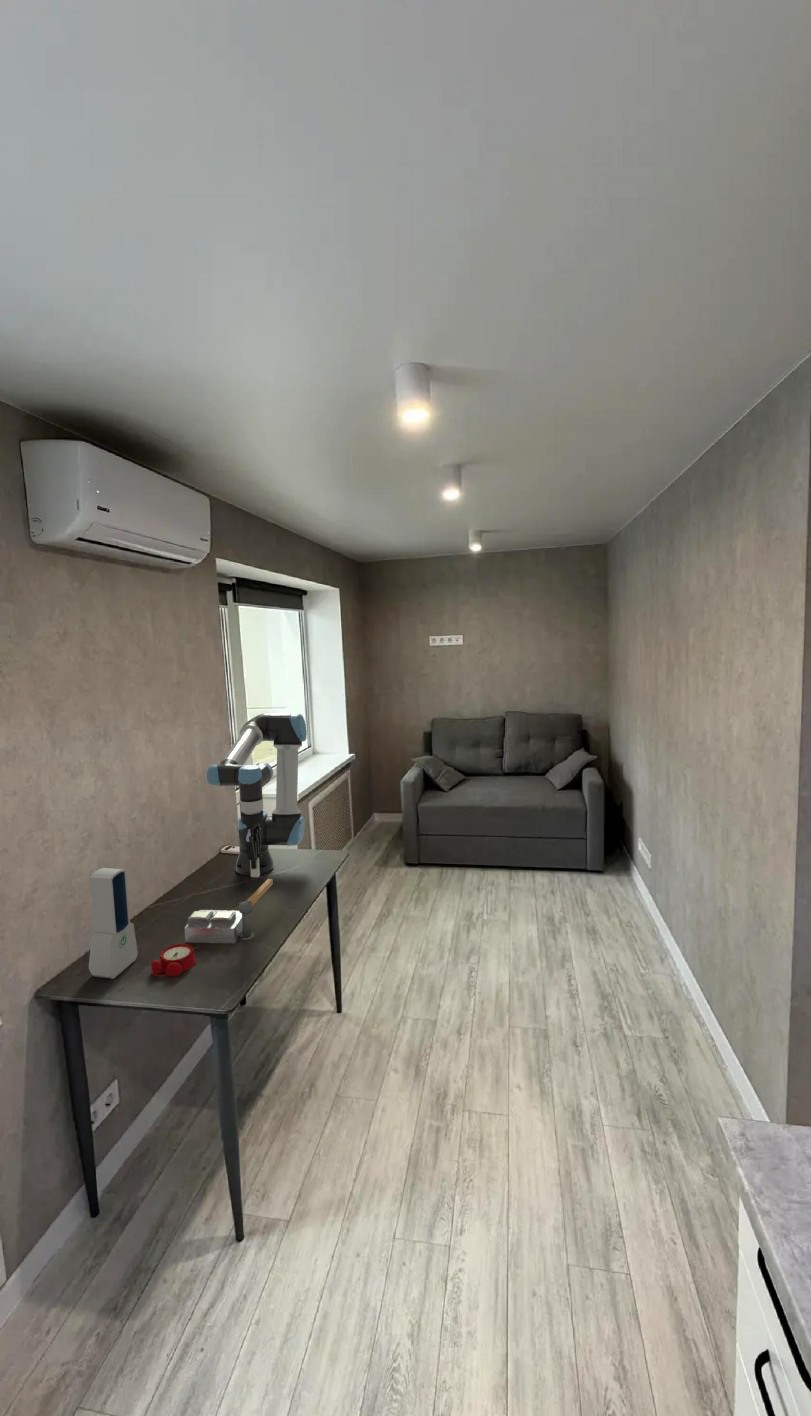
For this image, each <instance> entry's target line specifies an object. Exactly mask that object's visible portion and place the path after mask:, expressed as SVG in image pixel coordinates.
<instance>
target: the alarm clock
mask: <svg viewBox="0 0 811 1416" xmlns="http://www.w3.org/2000/svg"><path fill="white" fill-rule="evenodd" d="M198 948H200V945H198V946H197V947H194V948H193V946H192V945H190V944H188V943H187V944H185V943H177V944H174V945H171V946H168V947H166V948H165V949H164V950H162V951H161V952H160V955H159V959H160V960H158V959H153V960H152V962H151V964H150V965H151V966H150V967H151V970H152V972H151V974H152V976H156V977H165V976H169V977H171V978H175V977H178V976H180V975H181V973H183V972H185V971H188V970H189V969H191V968H193V966H194V965H196V962H197V958H196V955H195V954H194V950H196V949H198ZM162 973H163V974H162Z"/></svg>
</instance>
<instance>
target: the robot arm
mask: <svg viewBox="0 0 811 1416" xmlns="http://www.w3.org/2000/svg"><path fill="white" fill-rule="evenodd" d="M307 735H308V732H307V724H306V720H305V717H304V716H303V715H302V714H301V713H298V712H297V713H296V712H265V713H261V714H257V715H256V716H254V717H253V718H251V719H249V720H248V721H247V722H246V723H244V725H242V727H241V729H240V730H239V735H238V737H237V739H236V740H235V742H234V743H233V745H232V746H231V747H230V749H229V750H228V752H227V753H226V754H225V756H224V757H223V759H222V760H221V762H220V763H219V764H218V763H214V764H210V765H209V766H208V768H207V771H206V780H207V783H208V784H209V785H210V786H217V787H238V788H239V802H238V805H240V807H239V808H240V818H239V819H238V826H237V830H238V831H237V832H238V833H237V834H238V846H239V850H238V851H239V852H238V856H237V860H236V863H235V871H236V873H237V874H239V875H242V876H248V877H249V876H250V878H259V877H260V876H261V875H263V874H267V873H269V872H271V871H272V870H273V869H274V860H273V857H272V855H271V852H270V849H269V846H287V847H290V846H298V845H299V844H301V842H302V839H303V837H304V833H305V830H306V828H305V827H306V819H305V818H306V817H304V816H301V815H302V812H301V810H300V809H299V808H298V778H299V777H298V775H299V749H300V748H301V747H302V745H303V742H306V741H307ZM262 742H273V743H272V744H273V747H274V748H275V749H276V779H275V780H276V782H275V786H276V789H275V791H276V792H275V809H274V810H273V811H272V812H271V816H269V815H268V812H267V811H264V797H263V788H264V787H265V786H266V785H267V784H268V783H270V781H271V779H273V776H274V770H273V767H272V766H271V764H269V763H268V762H265V761H262V762H259V763H256V764H246V763H247V761H248V759H249V758H250V756H251V754H252V753H253V752H254V750H255V748H256V747H257V746H258V745H260V744H261V743H262Z"/></svg>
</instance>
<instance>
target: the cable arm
mask: <svg viewBox="0 0 811 1416" xmlns="http://www.w3.org/2000/svg"><path fill="white" fill-rule="evenodd" d="M272 885H274V882H273V878H267V879H266V880H265V881H264V882H263V883H262V884H261V885H260V886H259V887H258V888H257V889H256V891H254V893H253V894H252V895H250V896H249V897H248V898H247V900H243V901H241V902H239V904H238V908H239V909H238V911H239V912H240V913H242V929H243V932H242V933H243V937H249V936H251V932H252V925H251V921H252V920H251V912H252V911H253V906H254V905H255V904H256V903H257V902H258V901H259V899H260V898H261V897H262V896H264V894H265V893H266V892H267V891H268V890H269V889H270V888H271V887H272Z"/></svg>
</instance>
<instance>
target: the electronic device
mask: <svg viewBox="0 0 811 1416" xmlns="http://www.w3.org/2000/svg"><path fill="white" fill-rule="evenodd" d="M127 879H128V878H127V870H126V869H123V868H121V869H120V868H110V867H102V868H99V869H96V870H95V871H94V872H93V873H92V874H91V875H90V877H89V881H90V882H89V883H90V892H91V905H92V917H93V918H92V919H93V930H94V932H93V935H92V937H91V939H90V948H89V949H90V950H89V959H88V970H89V972H90V974H91V975H92V976H93V977H96V978H104V979H112V980H113V979H115V978H117V976H118V975H120V974H121V973H122V972H123V971H124V970H126V969H127V968H128V967H129V966H130V965H132V964H133V962H135V961H136V960H137V957H138V954H139V952H138V945H137V944H138V943H137V939H136V931H135V925H134V922H131V919H130V918H131V917H130V907H129V892H128V880H127Z"/></svg>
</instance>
